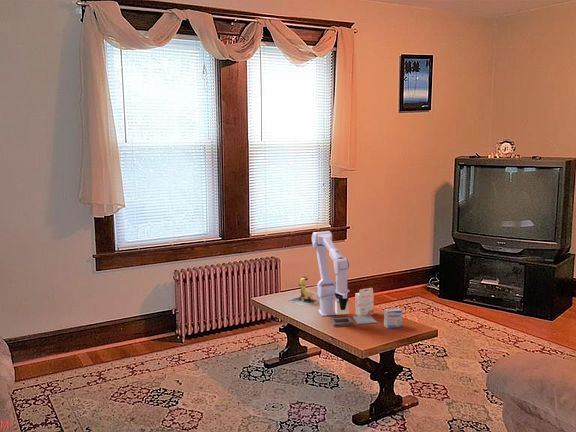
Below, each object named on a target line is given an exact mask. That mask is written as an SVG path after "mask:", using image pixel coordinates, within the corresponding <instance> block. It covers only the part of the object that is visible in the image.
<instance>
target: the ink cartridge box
mask: <svg viewBox="0 0 576 432" xmlns="http://www.w3.org/2000/svg"><path fill="white" fill-rule="evenodd" d="M354 294H355V296H354V297H355V300H354V301H355V316H365V315H371V316H373V315H374V314H375V313H374V311H375V309H374V308H375V307H374V306H375V305H374V301H375V299H374V289H373V287H369V288H363V289H362V288H361V289H359V292H356V293H354Z"/></svg>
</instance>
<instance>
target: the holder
mask: <svg viewBox="0 0 576 432" xmlns="http://www.w3.org/2000/svg"><path fill="white" fill-rule="evenodd" d="M330 323H331V324H332V326H333V327H334V328H335V327H347V326H349V327H350V326H354V323H355V322H354V321H353V320H352V319H351V317H350V316H349V317H348V316H347V317H338V318H337V317H335V318H330Z"/></svg>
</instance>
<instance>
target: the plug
mask: <svg viewBox="0 0 576 432" xmlns="http://www.w3.org/2000/svg"><path fill="white" fill-rule="evenodd" d="M349 305H350V303H349V300H348V301H347V303H346V308H345V310H341V309H340V303H339V300H338V299H336V298H334V312H335V313H336V315H337V316H338V315H348V314H349V312H350V311H349Z"/></svg>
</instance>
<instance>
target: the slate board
mask: <svg viewBox="0 0 576 432" xmlns="http://www.w3.org/2000/svg"><path fill="white" fill-rule="evenodd" d="M352 318H353V320H354V321H355V322H356V323H357V325H370V324H377V323H378V321H377V320H375V317H373V315H365V316H358V315H354V316H352Z"/></svg>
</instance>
